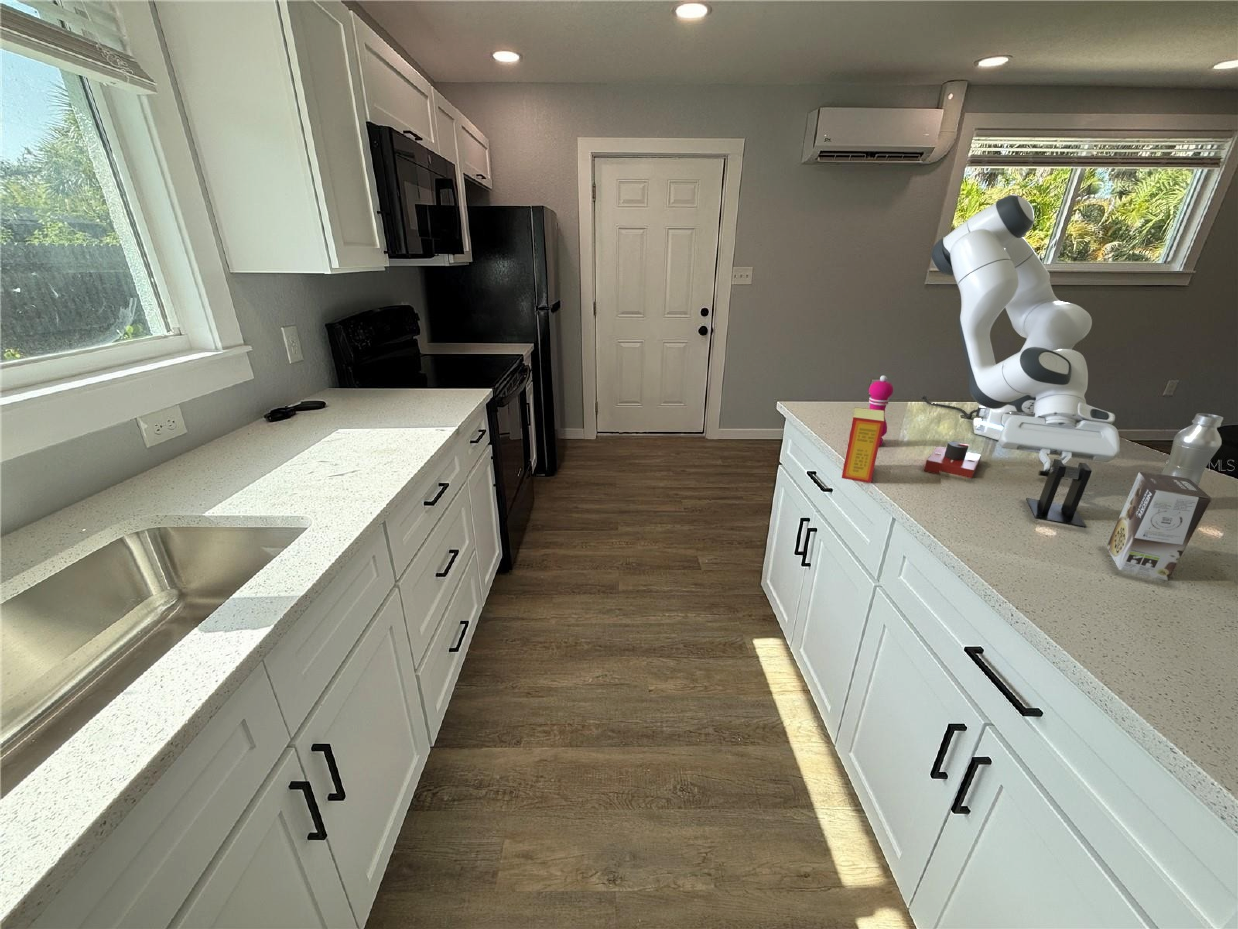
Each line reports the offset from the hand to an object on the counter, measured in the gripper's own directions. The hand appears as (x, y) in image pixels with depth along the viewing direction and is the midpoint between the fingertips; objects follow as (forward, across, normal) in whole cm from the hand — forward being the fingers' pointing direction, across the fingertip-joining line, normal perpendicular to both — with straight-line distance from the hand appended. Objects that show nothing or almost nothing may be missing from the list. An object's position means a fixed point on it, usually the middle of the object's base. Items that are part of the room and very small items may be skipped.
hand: (1053, 471), depth 106 cm
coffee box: (+22, +9, -12) cm, 27 cm away
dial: (-5, -17, +11) cm, 21 cm away
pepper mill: (-10, -36, +21) cm, 43 cm away
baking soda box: (+8, -38, +3) cm, 39 cm away
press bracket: (+11, 0, -1) cm, 11 cm away
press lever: (+3, 0, -4) cm, 5 cm away
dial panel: (-3, -17, +13) cm, 22 cm away
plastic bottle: (-3, +24, +13) cm, 27 cm away
